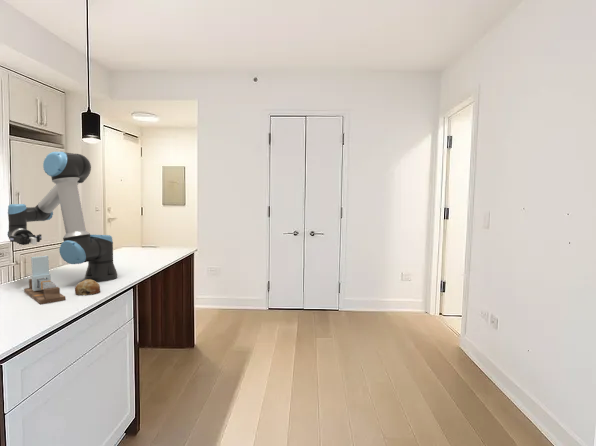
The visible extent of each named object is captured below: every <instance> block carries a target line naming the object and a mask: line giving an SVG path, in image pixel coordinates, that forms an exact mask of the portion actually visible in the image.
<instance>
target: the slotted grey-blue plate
mask: <svg viewBox="0 0 596 446" xmlns="http://www.w3.org/2000/svg"><path fill="white" fill-rule="evenodd" d="M30 258H31V259H30V260H31V279H32V290H33V291H38V290H42V289H41V288H40V287H38V286H37V279H39V278H46V279H47V280H50V281H51V273H50V264H49V263H50V262H49V261H50V260H49V256H48V255H40V256H32V257H30ZM51 282H52V281H51Z"/></svg>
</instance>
